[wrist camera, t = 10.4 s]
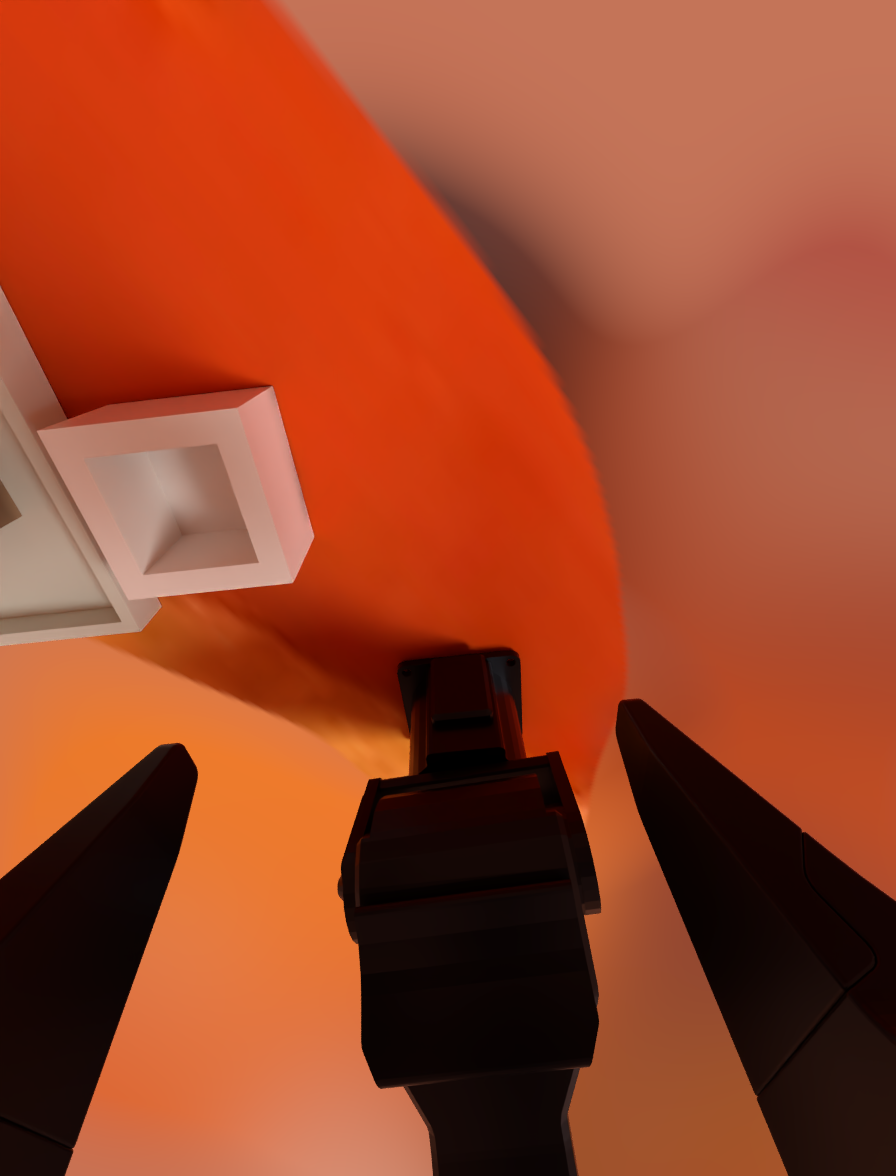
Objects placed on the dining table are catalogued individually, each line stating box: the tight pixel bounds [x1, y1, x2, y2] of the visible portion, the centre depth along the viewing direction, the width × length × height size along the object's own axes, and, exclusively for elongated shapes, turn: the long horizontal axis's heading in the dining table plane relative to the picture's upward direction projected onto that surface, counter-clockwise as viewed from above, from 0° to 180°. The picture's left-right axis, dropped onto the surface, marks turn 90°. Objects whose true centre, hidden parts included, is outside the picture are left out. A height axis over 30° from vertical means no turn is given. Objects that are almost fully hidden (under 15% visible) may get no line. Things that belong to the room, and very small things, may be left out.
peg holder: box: [37, 386, 314, 600], centre depth 18 cm, size 6×6×4 cm
